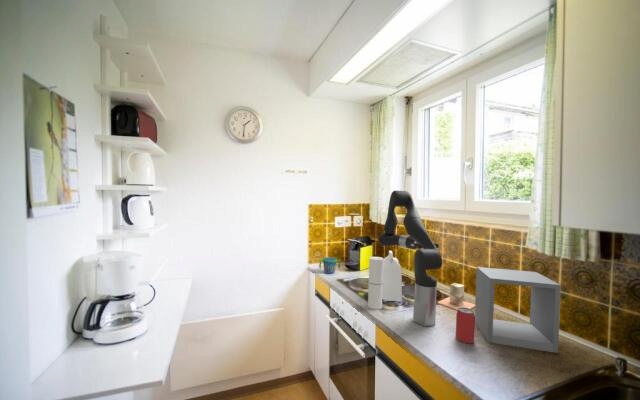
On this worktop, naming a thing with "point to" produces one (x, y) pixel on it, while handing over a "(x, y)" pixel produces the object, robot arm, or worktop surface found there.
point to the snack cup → (329, 264)
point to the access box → (542, 310)
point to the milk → (392, 278)
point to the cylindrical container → (375, 282)
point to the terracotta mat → (447, 303)
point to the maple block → (457, 294)
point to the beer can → (465, 325)
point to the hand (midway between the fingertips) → (434, 246)
